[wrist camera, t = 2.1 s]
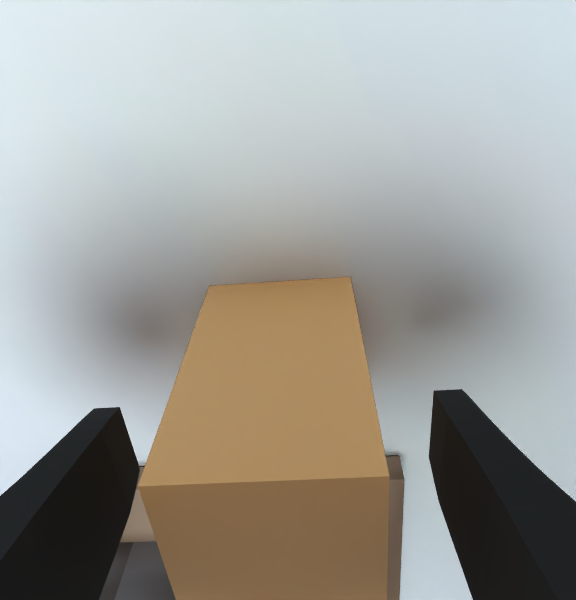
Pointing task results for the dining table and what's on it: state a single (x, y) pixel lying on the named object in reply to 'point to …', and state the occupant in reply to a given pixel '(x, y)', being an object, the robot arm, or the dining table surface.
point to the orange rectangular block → (272, 451)
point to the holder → (152, 574)
